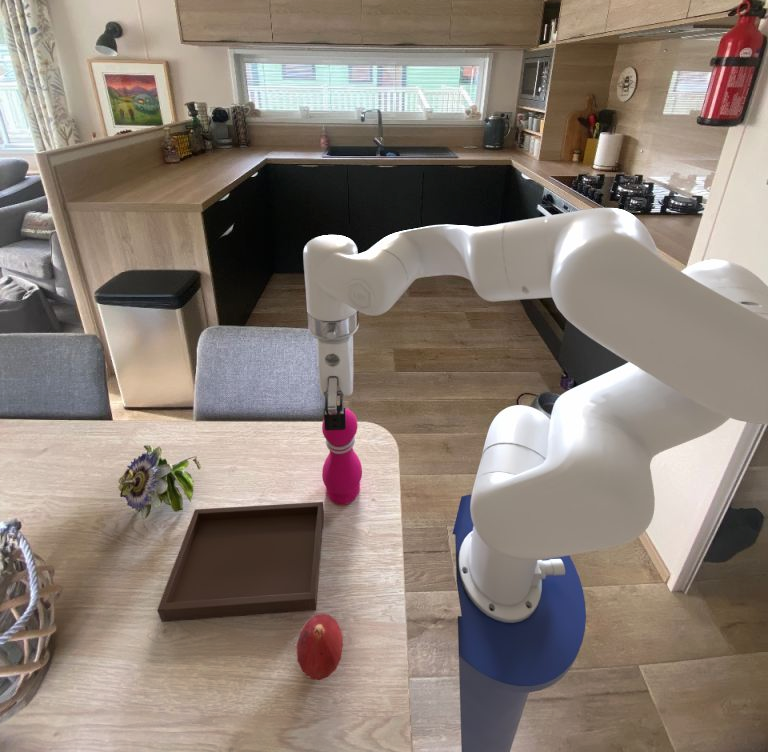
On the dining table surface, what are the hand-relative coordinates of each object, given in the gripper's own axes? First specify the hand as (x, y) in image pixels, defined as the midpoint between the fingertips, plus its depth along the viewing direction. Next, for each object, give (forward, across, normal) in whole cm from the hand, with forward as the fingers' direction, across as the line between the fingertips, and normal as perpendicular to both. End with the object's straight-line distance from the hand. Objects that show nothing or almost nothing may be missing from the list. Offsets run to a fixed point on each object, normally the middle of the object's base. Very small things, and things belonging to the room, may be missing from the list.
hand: (336, 403), depth 64 cm
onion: (+21, -23, +2) cm, 31 cm away
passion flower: (+21, +1, +32) cm, 39 cm away
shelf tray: (+21, -11, +14) cm, 27 cm away
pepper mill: (+21, 0, 0) cm, 21 cm away
